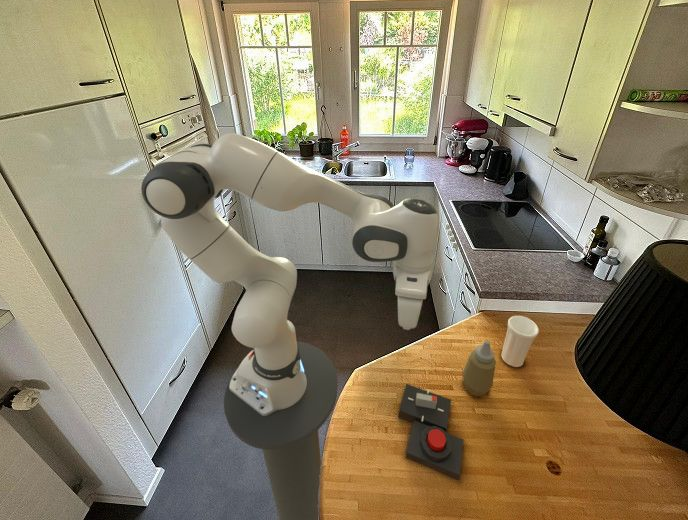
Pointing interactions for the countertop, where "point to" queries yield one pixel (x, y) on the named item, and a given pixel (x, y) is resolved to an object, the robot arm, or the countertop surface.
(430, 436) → the power button
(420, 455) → the power base
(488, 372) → the squeeze bottle
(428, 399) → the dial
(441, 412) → the control panel
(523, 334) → the cup
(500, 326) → the countertop surface
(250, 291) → the robot arm
